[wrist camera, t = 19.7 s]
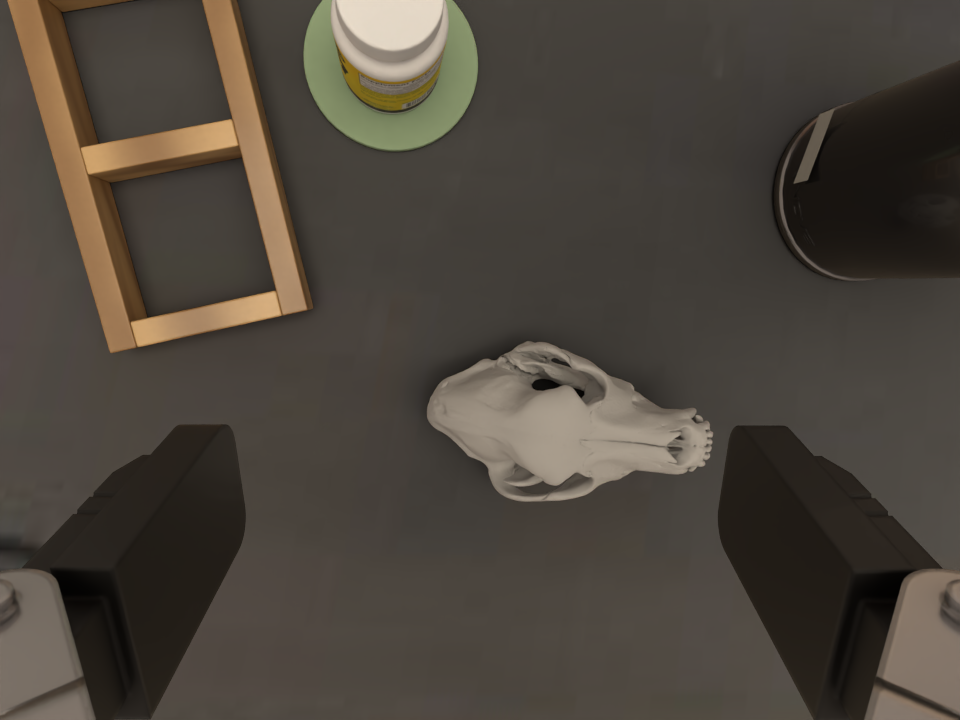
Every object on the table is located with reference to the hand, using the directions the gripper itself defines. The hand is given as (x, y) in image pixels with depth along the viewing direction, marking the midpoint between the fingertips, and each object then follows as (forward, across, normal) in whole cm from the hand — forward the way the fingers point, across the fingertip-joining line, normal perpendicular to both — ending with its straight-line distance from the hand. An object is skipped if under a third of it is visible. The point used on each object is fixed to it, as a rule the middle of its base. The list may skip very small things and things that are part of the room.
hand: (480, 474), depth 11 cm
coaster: (+27, +4, -7) cm, 28 cm away
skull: (+23, -4, +10) cm, 26 cm away
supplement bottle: (+27, +4, -7) cm, 28 cm away
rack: (+24, +14, -3) cm, 28 cm away
